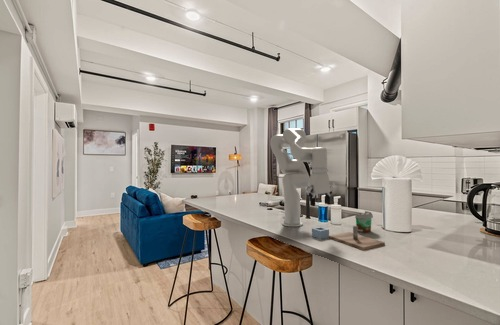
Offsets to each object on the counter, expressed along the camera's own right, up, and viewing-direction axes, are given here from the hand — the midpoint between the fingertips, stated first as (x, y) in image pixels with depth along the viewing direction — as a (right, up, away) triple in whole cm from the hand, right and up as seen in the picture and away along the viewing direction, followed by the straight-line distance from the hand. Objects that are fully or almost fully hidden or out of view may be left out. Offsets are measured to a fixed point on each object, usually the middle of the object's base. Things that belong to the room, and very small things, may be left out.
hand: (320, 204), depth 126 cm
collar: (0, -16, 0) cm, 16 cm away
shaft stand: (+14, -16, -9) cm, 23 cm away
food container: (+27, -16, +8) cm, 33 cm away
